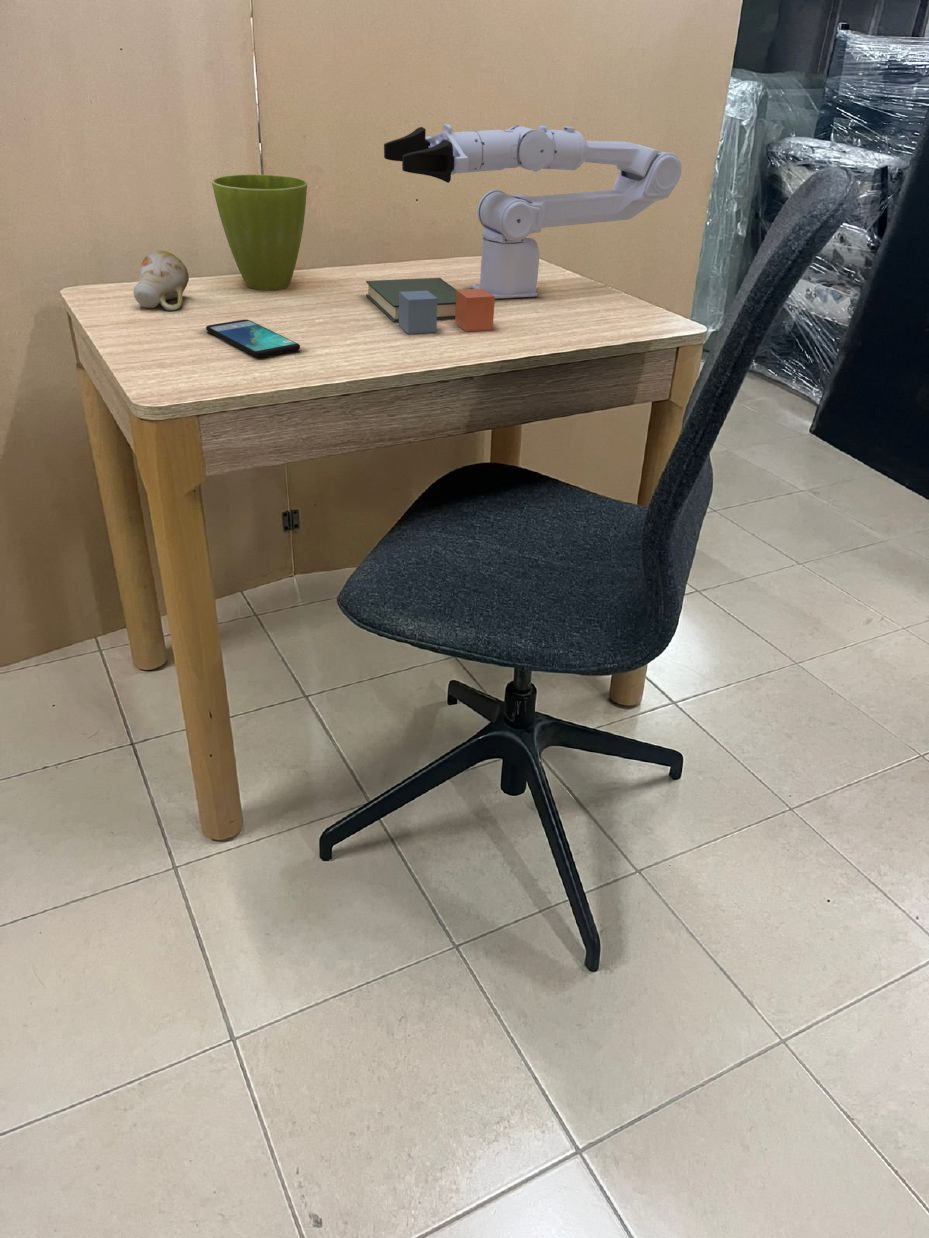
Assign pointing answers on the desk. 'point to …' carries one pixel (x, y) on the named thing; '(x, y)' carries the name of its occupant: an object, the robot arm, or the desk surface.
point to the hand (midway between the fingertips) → (393, 157)
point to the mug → (161, 280)
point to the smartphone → (253, 338)
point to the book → (388, 290)
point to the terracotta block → (474, 309)
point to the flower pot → (262, 225)
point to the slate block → (417, 312)
